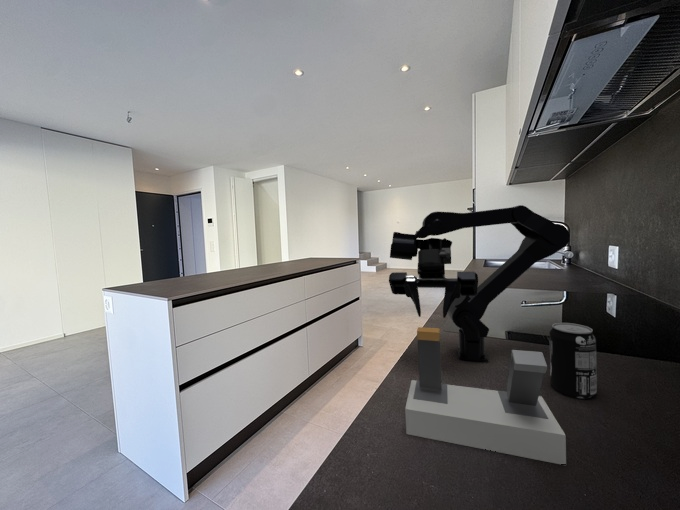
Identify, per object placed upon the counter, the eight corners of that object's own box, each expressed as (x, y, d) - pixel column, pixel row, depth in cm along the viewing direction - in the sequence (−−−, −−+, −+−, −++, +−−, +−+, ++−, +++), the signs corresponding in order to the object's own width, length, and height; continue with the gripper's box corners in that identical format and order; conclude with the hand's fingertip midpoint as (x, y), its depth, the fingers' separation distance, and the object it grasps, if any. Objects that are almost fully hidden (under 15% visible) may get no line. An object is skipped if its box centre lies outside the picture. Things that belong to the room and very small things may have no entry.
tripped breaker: (420, 381, 48) (418, 327, 47) (441, 384, 46) (439, 328, 46) (419, 388, 46) (416, 331, 45) (441, 391, 44) (439, 332, 44)
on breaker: (506, 390, 43) (511, 349, 38) (532, 393, 41) (542, 352, 36) (509, 404, 41) (515, 363, 36) (536, 407, 40) (547, 366, 35)
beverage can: (551, 378, 55) (549, 320, 55) (595, 387, 51) (594, 325, 51) (549, 392, 50) (548, 329, 50) (598, 404, 46) (597, 335, 46)
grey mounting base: (412, 401, 50) (411, 379, 50) (542, 421, 43) (541, 396, 43) (406, 434, 42) (405, 408, 42) (566, 465, 35) (565, 434, 34)
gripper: (388, 238, 64) (380, 294, 55) (475, 233, 58) (484, 295, 48) (395, 268, 72) (389, 321, 62) (473, 266, 65) (480, 326, 56)
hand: (431, 316), depth 57 cm, fingers open, 5 cm apart
